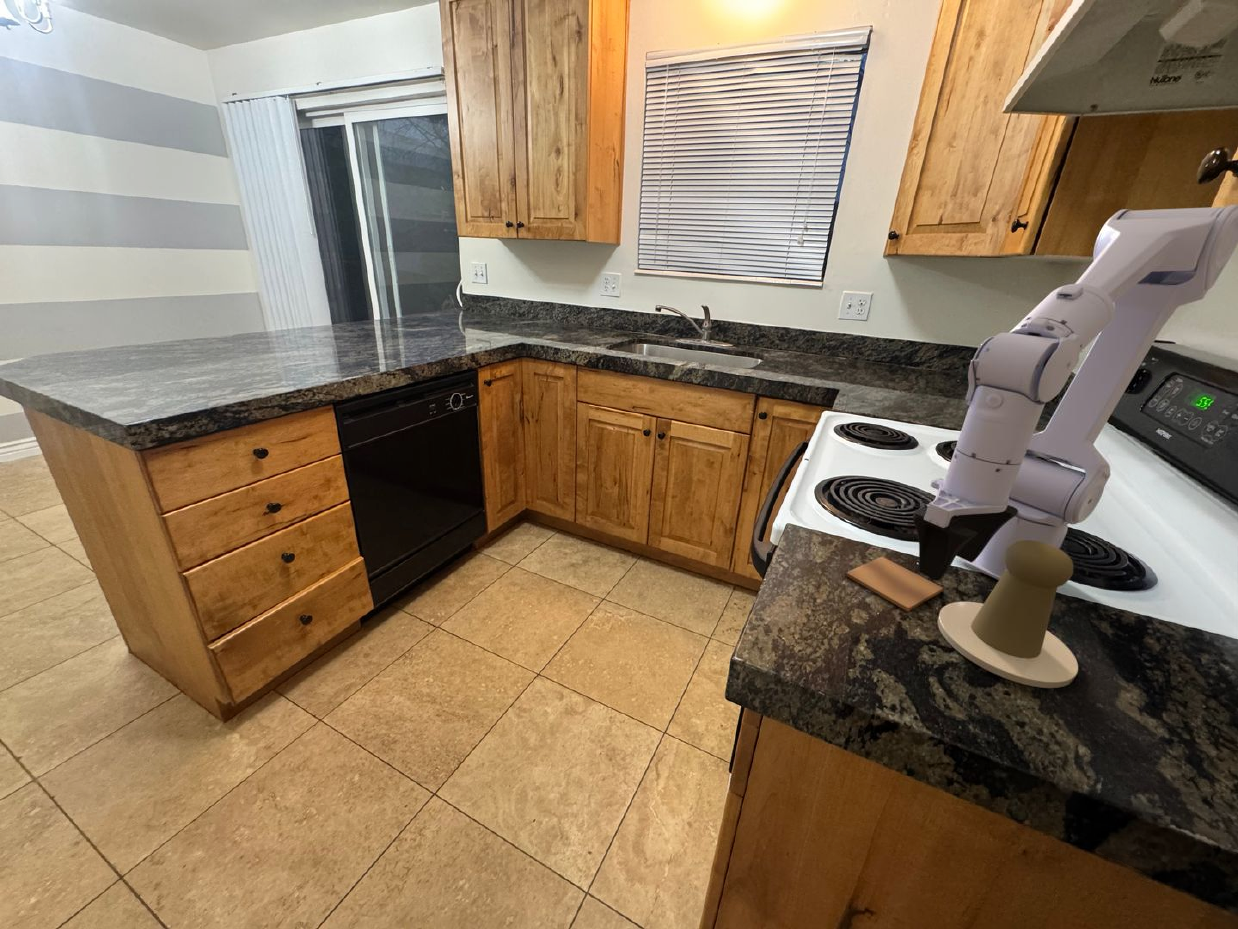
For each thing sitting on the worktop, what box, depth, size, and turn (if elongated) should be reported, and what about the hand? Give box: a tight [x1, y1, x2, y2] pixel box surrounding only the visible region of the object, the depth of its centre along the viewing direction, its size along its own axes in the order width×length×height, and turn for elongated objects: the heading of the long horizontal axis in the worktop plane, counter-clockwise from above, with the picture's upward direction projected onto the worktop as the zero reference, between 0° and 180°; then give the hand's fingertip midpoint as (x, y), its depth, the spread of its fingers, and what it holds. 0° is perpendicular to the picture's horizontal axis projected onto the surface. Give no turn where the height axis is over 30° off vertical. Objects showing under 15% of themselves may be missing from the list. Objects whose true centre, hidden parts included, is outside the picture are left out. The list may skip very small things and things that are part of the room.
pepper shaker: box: [971, 540, 1074, 659], centre depth 50 cm, size 6×6×11 cm
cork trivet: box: [845, 556, 944, 612], centre depth 62 cm, size 8×8×1 cm
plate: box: [937, 601, 1079, 689], centre depth 52 cm, size 12×12×1 cm
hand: (947, 566), depth 56 cm, fingers open, 7 cm apart
